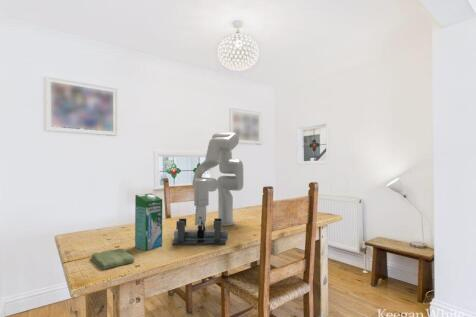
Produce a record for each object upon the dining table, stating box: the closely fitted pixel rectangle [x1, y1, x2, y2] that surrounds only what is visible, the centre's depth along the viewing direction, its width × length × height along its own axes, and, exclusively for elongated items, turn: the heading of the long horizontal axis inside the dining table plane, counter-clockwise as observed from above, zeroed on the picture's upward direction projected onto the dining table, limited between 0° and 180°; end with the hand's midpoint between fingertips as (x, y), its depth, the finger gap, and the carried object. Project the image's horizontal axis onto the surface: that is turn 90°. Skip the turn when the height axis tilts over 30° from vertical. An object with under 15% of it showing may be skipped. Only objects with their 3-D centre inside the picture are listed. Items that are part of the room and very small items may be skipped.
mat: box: [173, 238, 228, 241], centre depth 139 cm, size 6×27×1 cm, turn 91°
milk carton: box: [134, 193, 163, 252], centre depth 127 cm, size 9×9×25 cm
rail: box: [173, 229, 229, 239], centre depth 139 cm, size 4×28×4 cm, turn 91°
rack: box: [171, 217, 227, 246], centre depth 132 cm, size 7×26×12 cm, turn 91°
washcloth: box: [90, 248, 135, 270], centre depth 109 cm, size 13×18×3 cm
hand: (201, 235), depth 139 cm, fingers open, 7 cm apart
